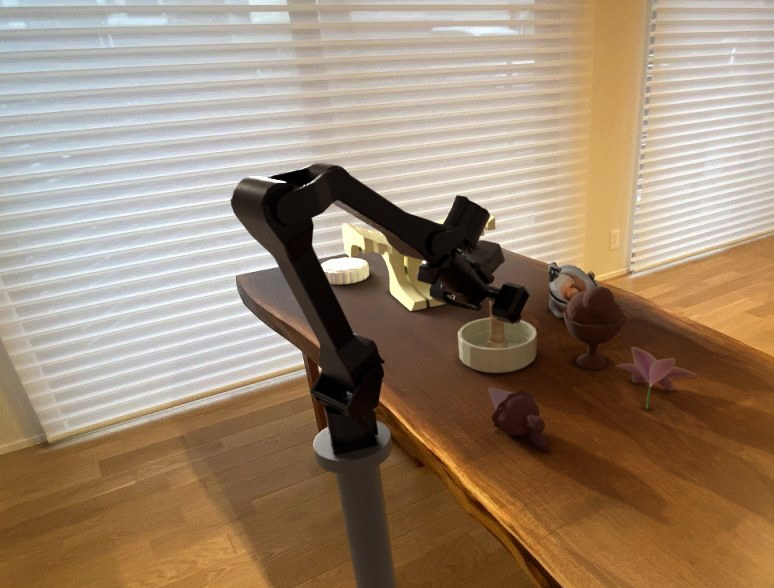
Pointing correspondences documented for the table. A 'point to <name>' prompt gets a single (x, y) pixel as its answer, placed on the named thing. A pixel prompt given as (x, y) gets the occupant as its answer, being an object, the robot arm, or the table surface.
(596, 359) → the ice cream bowl
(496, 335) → the cylinder
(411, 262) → the slatted curved stool
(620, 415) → the table surface
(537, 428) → the icecream
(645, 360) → the lily
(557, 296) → the grey pot with food
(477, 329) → the bowl
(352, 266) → the mooncake
